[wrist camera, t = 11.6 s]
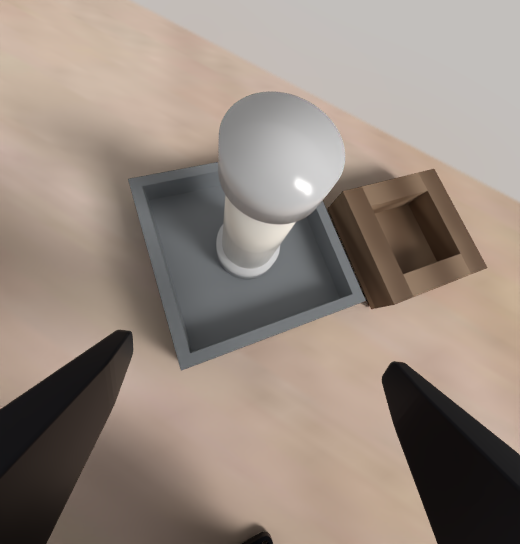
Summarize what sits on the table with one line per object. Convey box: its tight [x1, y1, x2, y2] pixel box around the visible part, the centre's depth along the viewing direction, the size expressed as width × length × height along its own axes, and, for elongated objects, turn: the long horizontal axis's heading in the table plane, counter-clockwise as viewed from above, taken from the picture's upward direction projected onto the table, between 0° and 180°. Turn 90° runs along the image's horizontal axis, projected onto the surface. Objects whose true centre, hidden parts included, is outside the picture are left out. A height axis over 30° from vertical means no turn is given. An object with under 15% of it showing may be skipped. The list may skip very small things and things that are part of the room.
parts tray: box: [128, 162, 366, 370], centre depth 20 cm, size 14×14×3 cm
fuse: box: [216, 92, 345, 279], centre depth 15 cm, size 5×5×12 cm
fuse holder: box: [328, 169, 487, 309], centre depth 23 cm, size 10×10×3 cm
